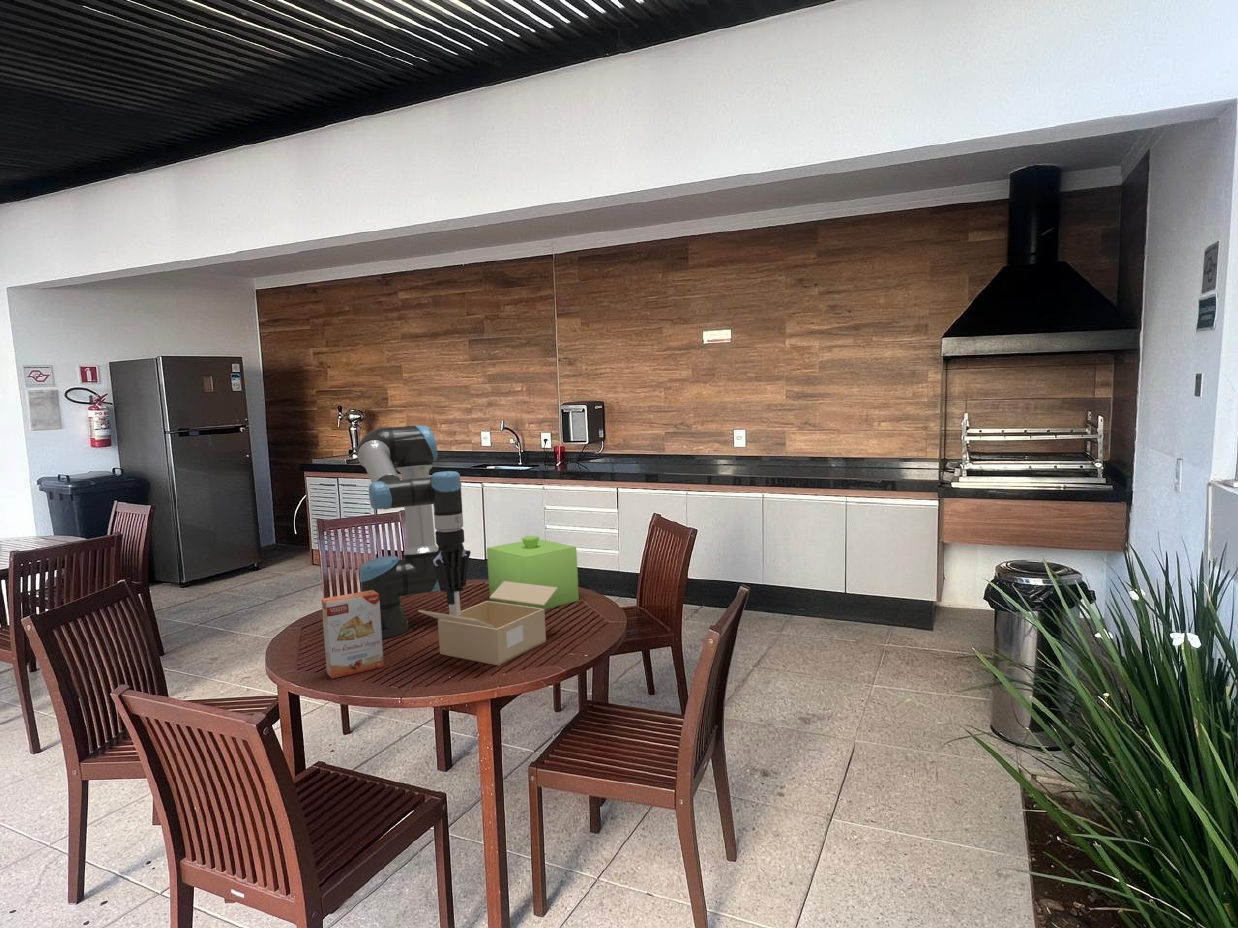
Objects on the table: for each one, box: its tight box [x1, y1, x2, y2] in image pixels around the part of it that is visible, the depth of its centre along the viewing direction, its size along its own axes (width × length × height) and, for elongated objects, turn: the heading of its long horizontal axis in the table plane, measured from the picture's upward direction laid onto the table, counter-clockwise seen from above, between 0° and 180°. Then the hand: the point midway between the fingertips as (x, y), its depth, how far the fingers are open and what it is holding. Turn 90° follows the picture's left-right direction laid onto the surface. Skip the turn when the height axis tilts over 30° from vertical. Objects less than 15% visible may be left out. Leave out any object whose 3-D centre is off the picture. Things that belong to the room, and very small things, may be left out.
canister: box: [486, 535, 580, 611], centre depth 262 cm, size 25×21×23 cm
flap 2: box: [489, 581, 558, 606], centre depth 225 cm, size 21×1×8 cm
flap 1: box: [417, 609, 494, 628], centre depth 200 cm, size 21×1×8 cm
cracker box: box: [321, 590, 384, 680], centre depth 199 cm, size 14×6×21 cm, turn 124°
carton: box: [437, 600, 547, 667], centre depth 213 cm, size 22×21×10 cm
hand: (455, 614), depth 200 cm, fingers closed
